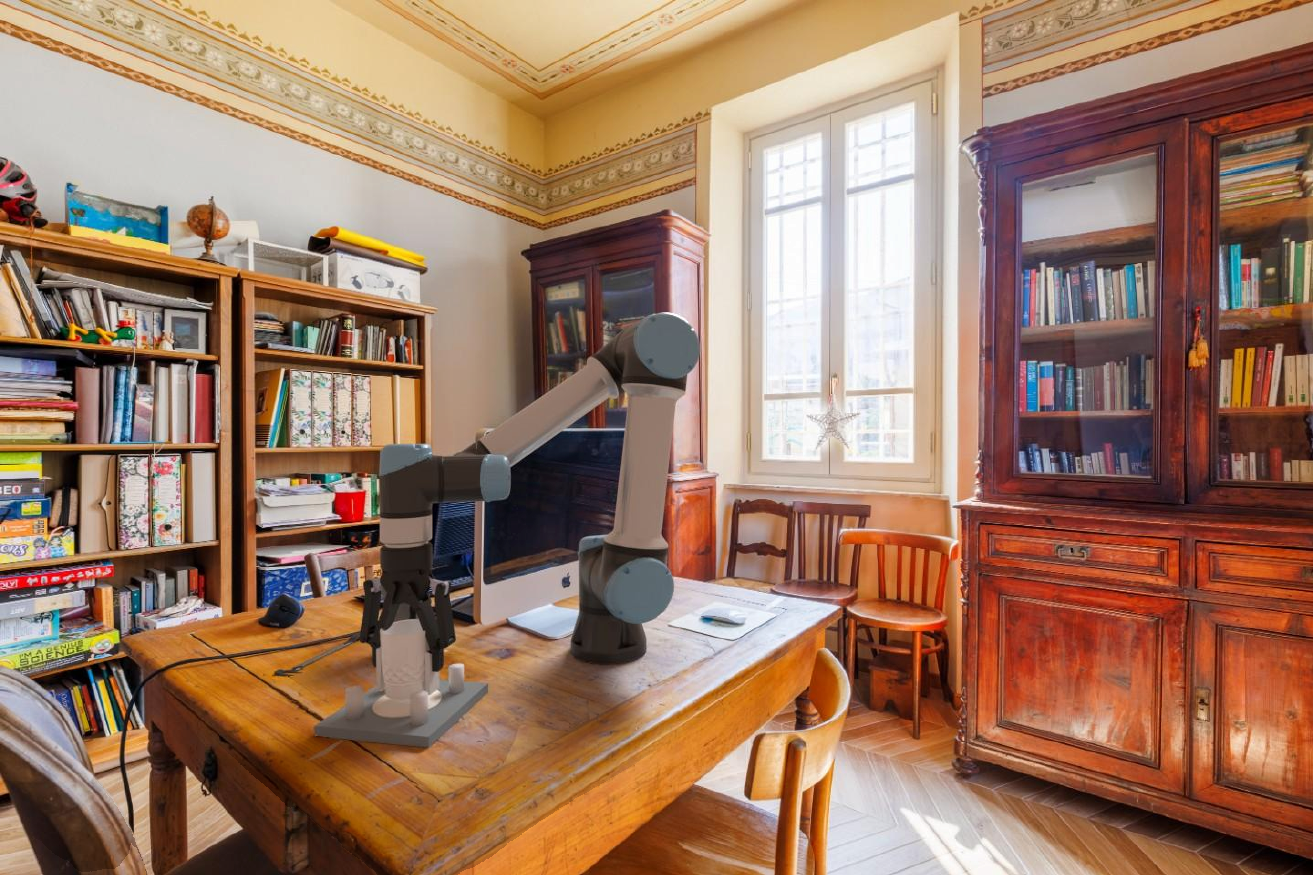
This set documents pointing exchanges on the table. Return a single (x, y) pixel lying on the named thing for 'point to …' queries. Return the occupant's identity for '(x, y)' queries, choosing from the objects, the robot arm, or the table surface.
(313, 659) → the tactical tomahawk
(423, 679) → the white cup
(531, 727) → the table surface
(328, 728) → the peg stand
